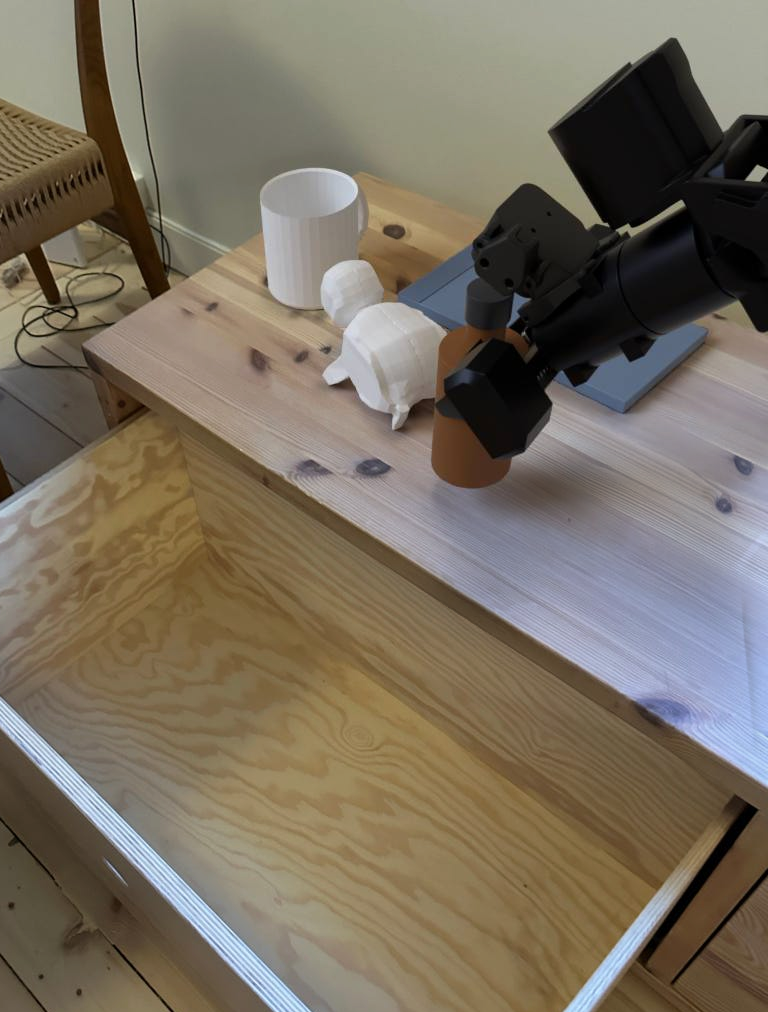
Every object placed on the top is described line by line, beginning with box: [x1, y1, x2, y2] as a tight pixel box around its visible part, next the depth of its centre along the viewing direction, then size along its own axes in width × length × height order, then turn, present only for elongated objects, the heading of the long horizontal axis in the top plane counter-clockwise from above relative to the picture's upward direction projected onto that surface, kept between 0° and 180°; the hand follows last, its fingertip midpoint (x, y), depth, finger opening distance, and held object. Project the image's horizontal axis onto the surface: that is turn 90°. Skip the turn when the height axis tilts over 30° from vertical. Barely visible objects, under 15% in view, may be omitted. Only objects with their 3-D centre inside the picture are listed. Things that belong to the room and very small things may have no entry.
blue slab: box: [397, 242, 709, 414], centre depth 83 cm, size 25×13×1 cm, turn 45°
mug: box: [259, 167, 370, 311], centre depth 86 cm, size 12×9×9 cm
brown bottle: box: [430, 277, 529, 490], centre depth 63 cm, size 6×6×14 cm
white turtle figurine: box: [321, 259, 448, 431], centre depth 77 cm, size 9×8×15 cm
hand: (461, 384), depth 64 cm, fingers closed on brown bottle, 6 cm apart
